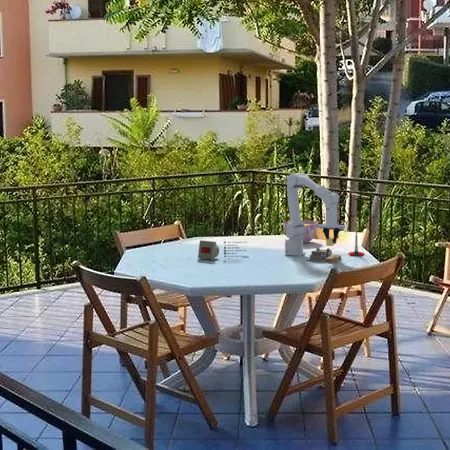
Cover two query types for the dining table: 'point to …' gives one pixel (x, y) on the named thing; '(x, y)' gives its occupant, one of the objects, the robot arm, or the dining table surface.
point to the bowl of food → (310, 230)
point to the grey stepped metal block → (320, 255)
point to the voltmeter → (212, 250)
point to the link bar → (330, 241)
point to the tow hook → (356, 249)
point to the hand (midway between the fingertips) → (331, 242)
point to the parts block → (333, 258)
